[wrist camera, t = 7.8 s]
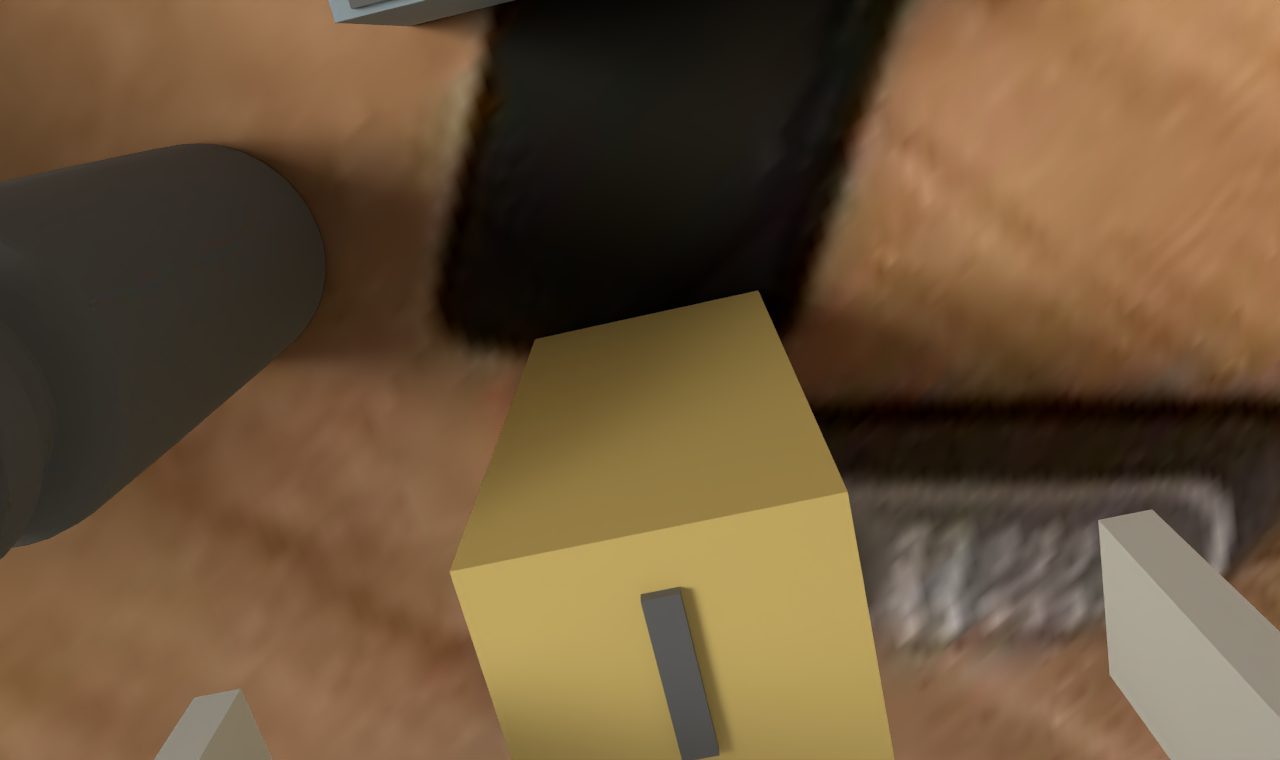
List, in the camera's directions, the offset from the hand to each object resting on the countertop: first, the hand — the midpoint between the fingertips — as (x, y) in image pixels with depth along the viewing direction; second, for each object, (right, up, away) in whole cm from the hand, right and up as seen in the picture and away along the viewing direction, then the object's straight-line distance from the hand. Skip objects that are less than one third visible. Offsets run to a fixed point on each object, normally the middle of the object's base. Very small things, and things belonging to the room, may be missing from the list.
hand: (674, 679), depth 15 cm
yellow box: (0, +4, +12) cm, 13 cm away
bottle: (-12, +8, +11) cm, 18 cm away
